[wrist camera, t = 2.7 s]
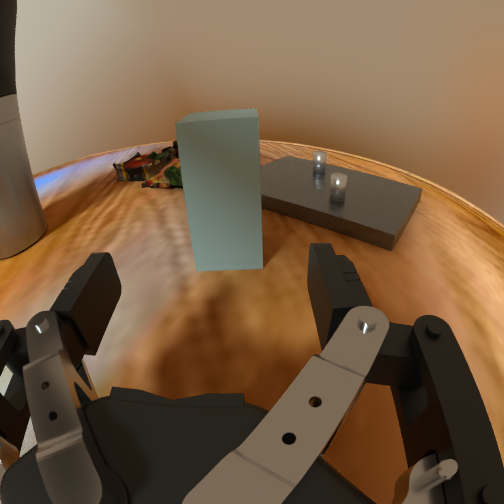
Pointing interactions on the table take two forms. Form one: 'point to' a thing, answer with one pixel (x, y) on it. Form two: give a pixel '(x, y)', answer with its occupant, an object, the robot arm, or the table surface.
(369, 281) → the table surface
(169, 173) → the food
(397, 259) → the table surface
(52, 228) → the table surface
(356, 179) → the mounting plate
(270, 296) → the table surface
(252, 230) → the block
